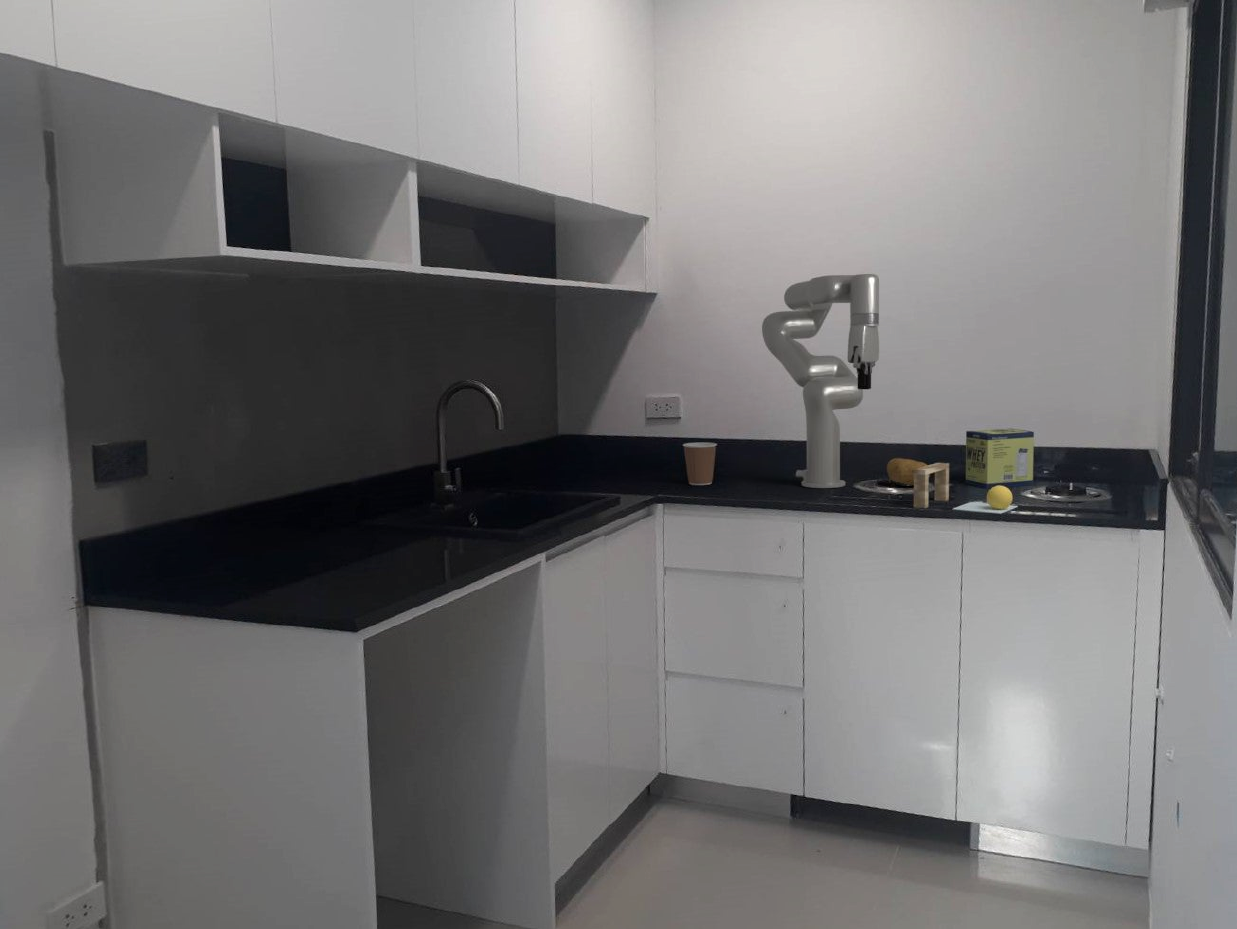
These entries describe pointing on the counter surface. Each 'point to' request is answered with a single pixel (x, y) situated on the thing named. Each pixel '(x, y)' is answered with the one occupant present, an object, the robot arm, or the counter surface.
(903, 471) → the potato
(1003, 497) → the ball
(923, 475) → the bridge
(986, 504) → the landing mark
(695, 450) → the coffee cup
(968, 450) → the protein box
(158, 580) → the counter surface
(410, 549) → the counter surface
